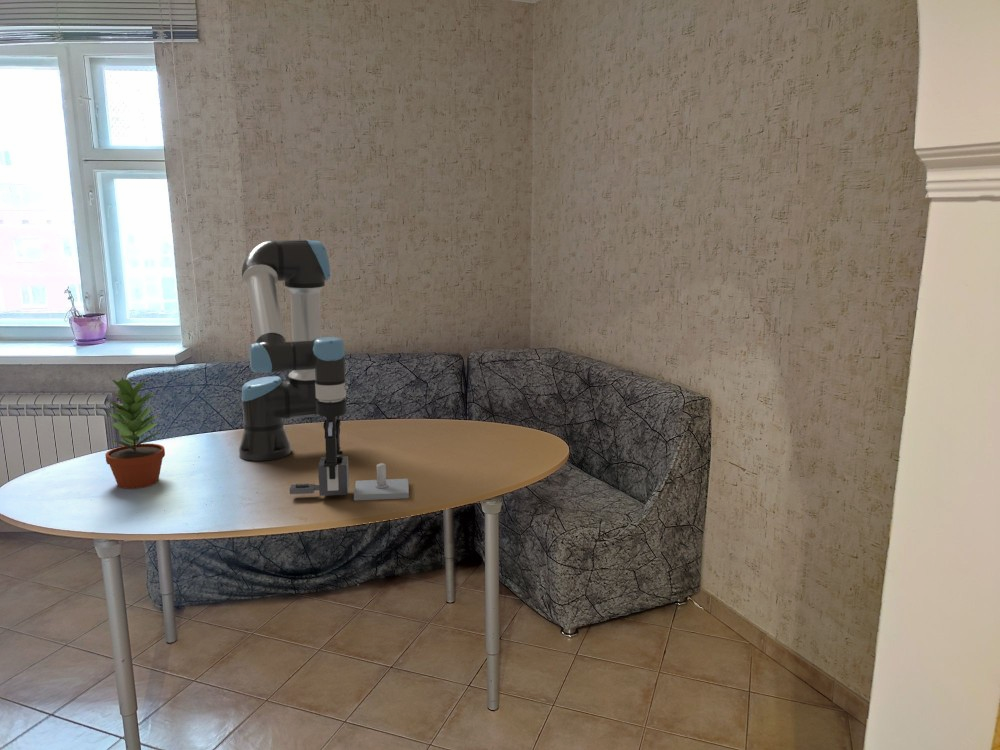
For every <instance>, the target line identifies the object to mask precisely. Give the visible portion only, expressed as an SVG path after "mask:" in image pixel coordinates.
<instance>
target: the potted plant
mask: <svg viewBox="0 0 1000 750" xmlns="http://www.w3.org/2000/svg"><path fill="white" fill-rule="evenodd" d="M109 379H111V381H112V382H113V383H114V384H115V385H116V386H117V388H119V389H118V390H117V391H116V392H117V393H115V397H117V398H118V399H120V402H121V404H122V405H120V404H119V403H116V402H113V401H107V400H106V402H107V403H109V404H110V405H111V406H113V407H115V408H112V407H111V409H112V411H114V412H116V413H110V412H108V411H107V414H108V415H109V416H110V417H111V418H112V419H114V420H116V421H117V422H115V421H112V423H113V424H112V426H113V427H114V428H115V429H116V430H118V434H119V435H118V436H119V437H121V438H122V439H123V440H124V441H121V440H115V439H110V438H109V440H110V441H113V442H115V443H117V444H119V445H122V446H119V447H115V448H112V449H110V450H108V451H106V453H105V461H106V464H107V465H109V467H110V469H111V472H112V474H113V477H114V479H115V482H116V485H117V486H118V487H119V488H121V489H127V488H128V490H129V489H131V490H133V489H141V488H145V487H146V488H147V487H150V486H152V484H153V485H155V484H157V483H158V482H157V481H159V479H160V473H161V468H162V464H163V463H162V462H163V459H164V457H165V456H166V452H165V447H164V446H163V445H161V444H158V443H157V444H156V443H145V442H146V441H148V440H150V439H151V438H153V437H155V436H156V435H159V432H155V433H152V434H150V435H149V436H147V437H146V438H143V440H140V437H142V436H143V435H144V434H146V433H147V432H149V431H151V430H152V429H153V428H154V427H156V426H157V425H158V422H156V423H151V422H153V421H155V419H157V418H158V417H159V416H160V414H158V415H156V416H149V414H150V412H152V410H151V408H152V407H149V406H150V405H151V404H152V402H153V401H154V399H152V401H151V402H149V403H148V404H146V405H147V406H145V408H144V409H143V410H142V408H143V405H144V404H145V402H147V401H148V400H149V399H150V398H151V397H152V396H153V395H155V394H156V393H157V391H155V392H154V393H149V394H147V395H144V396H143V397H142V395H139V394H138V393H139V392H140V391H141V389H142V388H143V386H144V385H145V383H146V381H147V380H148V378H146V379H145V380H144V381H143V382H140V383H138V384H136V385H135V387H134V388H133V386H132V385H133V384H132V383H131V381H130V380H128V379H124V377H122V376H121V379H120V380H118V381H116V380H115V379H112V377H109Z"/></svg>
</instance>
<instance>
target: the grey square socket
mask: <svg viewBox="0 0 1000 750" xmlns="http://www.w3.org/2000/svg"><path fill="white" fill-rule="evenodd" d="M324 464H326V456H321V457H320V459H319V462H318V467H317V468H318V469H317V470H318V471H317V472H318V484H315V483H296V484H291V485H290V487H289V495H305V494H309V495H310V494H315V491H319V492H318V493H319V496H321V497H323V496H325V497H326V496H345V495H346V496H347V495H348V493H349V489H350V488H349V487H350V475H349V474H350V471H349V469H350V467H349V455H347V456H346V455H345V456H342V455H341V456H340V457H337V465H338V483H339V490H333V491H328V486H327V467H324Z"/></svg>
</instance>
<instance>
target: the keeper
mask: <svg viewBox="0 0 1000 750" xmlns="http://www.w3.org/2000/svg"><path fill="white" fill-rule="evenodd" d="M409 491H410V490H409V478H391V479H387V463H383V462H382V463H381V462H380V463H378V464H376V479H369V480H367V479H366V480H365V479H364V480H363V479H362V480H355V485H354V490H353V501H373V500H394V499H395V500H397V499H398V500H399V499H410V494H409V493H410V492H409Z"/></svg>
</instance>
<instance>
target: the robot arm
mask: <svg viewBox="0 0 1000 750" xmlns="http://www.w3.org/2000/svg"><path fill="white" fill-rule="evenodd" d="M329 261H330V260H329V256H328V252H327V249H326V246H325V245H324V243H323V242H322V241H319V240H312V239H311V240H310V239H295V240H294V239H293V240H291V239H290V240H287V239H285V240H274V239H273V240H267V241H263V242H261V243H259V244H257V245H256V246H255V247H253V248H252V249H251V250H250V251H249V253H248V254H247V255H246V257H245V259H244V262H243V263H242V267H241V277H242V278H241V279H242V282H243V283H242V284H243V285H244V286H245V287H246V288H247V293H248V300H249V301H248V302H249V307H250V313H251V314H250V315H251V320H252V327H253V335H254V341H255V343H251V344H249V347H248V355H249V357H248V358H249V366H250V369H251V371H252V372H254V373H259V374H261V373H268V374H269V373H277V372H278V373H279V372H289V371H290V372H289V373H288V380H284V381H283V380H282V377H280V376H277V375H276V376H275V375H274V376H264V377H258V378H253V379H251V380H248V381H246V383H244V384H243V385H242V387H241V399H240V400H241V401H242V413H243V414H242V415H243V416H242V419H243V420H242V421H243V434H242V436H241V440H240V444H239V448H238V454H239V455H238V456H239V458H240V459H242V460H246V461H253V462H265V461H273V460H278V459H283V458H284V457H287V456H290V454H291V451H292V450H291V449H292V448H291V447H292V446H291V442H290V440H289V438H288V435H287V433H286V430H285V427H284V426H285V425H284V420H289V419H290V420H292V419H302V418H316V417H325V419H324V422H323V430H324V439H325V457H326V464H324V467H327V486H328V491H333V490H339V483H338V465H337V457H341V456H342V455H343V450H341V442H340V441H341V440H340V434H341V419H340V417H342V416H344V415H345V414H347V411H348V410H347V405H348V404H347V399H346V396H347V390H348V389H349V385H346V381H347V380H346V349H345V342H344V341H345V340H343V339H342V338H340V337H336V336H335V337H334V336H324V337H322V325H321V324H322V321H321V319H322V318H321V296H320V295H321V294H320V293H321V291H322V290H323V289H324V288H325V286H326V285H325V283H326V282H325V281H328V280H330V278H331V267H330V262H329ZM282 281H283V282H284V287H285V289H287V291H289V295H290V318H291V338H292V339H291V341H286V337H285V330H284V323H283V320H282V314H281V306H280V303H279V297H278V293H277V286H276V285H277V283H278V282H282Z"/></svg>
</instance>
